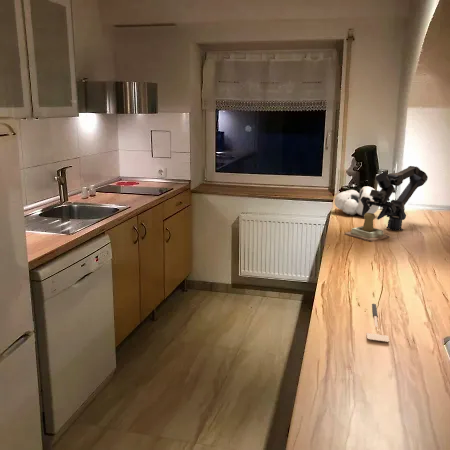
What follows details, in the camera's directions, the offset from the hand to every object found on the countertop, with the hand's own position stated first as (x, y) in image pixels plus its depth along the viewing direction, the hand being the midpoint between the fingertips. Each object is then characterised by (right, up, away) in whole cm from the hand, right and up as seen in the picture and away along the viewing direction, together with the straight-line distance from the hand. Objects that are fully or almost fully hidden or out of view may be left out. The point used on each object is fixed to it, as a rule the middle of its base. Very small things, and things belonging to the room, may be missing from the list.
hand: (369, 217), depth 256 cm
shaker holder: (-1, -9, +2) cm, 10 cm away
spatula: (-27, -35, -99) cm, 108 cm away
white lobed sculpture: (+6, +2, +49) cm, 49 cm away
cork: (-1, -9, +2) cm, 9 cm away
